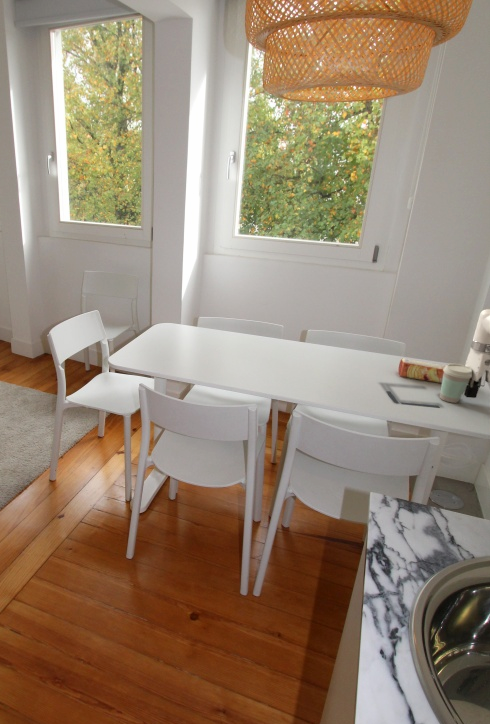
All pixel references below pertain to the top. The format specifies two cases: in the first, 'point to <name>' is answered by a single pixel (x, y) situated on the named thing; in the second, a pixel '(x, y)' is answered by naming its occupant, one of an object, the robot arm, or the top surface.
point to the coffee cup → (454, 382)
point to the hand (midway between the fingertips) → (469, 396)
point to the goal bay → (409, 403)
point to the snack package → (421, 370)
